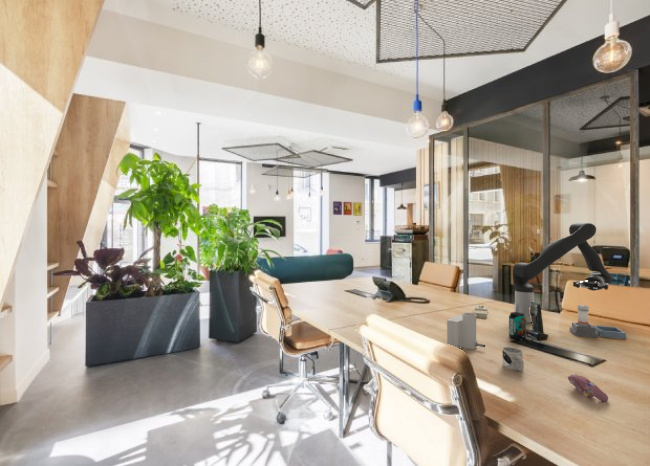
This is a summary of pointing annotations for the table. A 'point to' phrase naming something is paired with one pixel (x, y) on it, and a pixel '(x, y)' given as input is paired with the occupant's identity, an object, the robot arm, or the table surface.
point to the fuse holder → (583, 330)
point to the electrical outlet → (481, 311)
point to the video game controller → (587, 387)
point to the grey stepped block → (462, 331)
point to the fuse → (583, 315)
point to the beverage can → (517, 325)
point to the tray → (609, 332)
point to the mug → (513, 358)
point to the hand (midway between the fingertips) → (587, 286)
